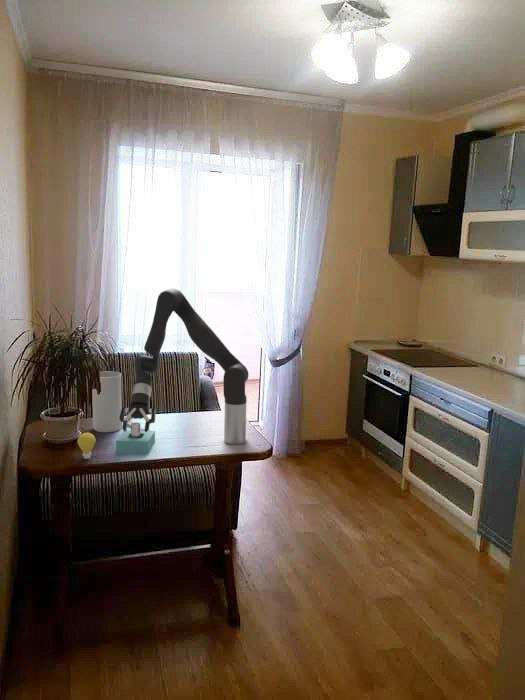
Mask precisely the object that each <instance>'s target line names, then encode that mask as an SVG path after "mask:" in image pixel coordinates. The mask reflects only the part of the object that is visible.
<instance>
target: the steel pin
mask: <svg viewBox="0 0 525 700" xmlns="http://www.w3.org/2000/svg"><path fill="white" fill-rule="evenodd" d="M130 428H131V429H130V430H131V438H140V428H141V423H140V422H133V423H132V424H131V427H130Z"/></svg>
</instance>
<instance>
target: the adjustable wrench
mask: <svg viewBox="0 0 525 700" xmlns="http://www.w3.org/2000/svg"><path fill="white" fill-rule="evenodd" d="M132 423H134V422H133V421H131V420H130V421H129V422H128V423H127V427H129V428H131V424H132ZM140 431H145V428H142V427H140ZM148 431H152V430H151V429H149V430H148Z"/></svg>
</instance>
